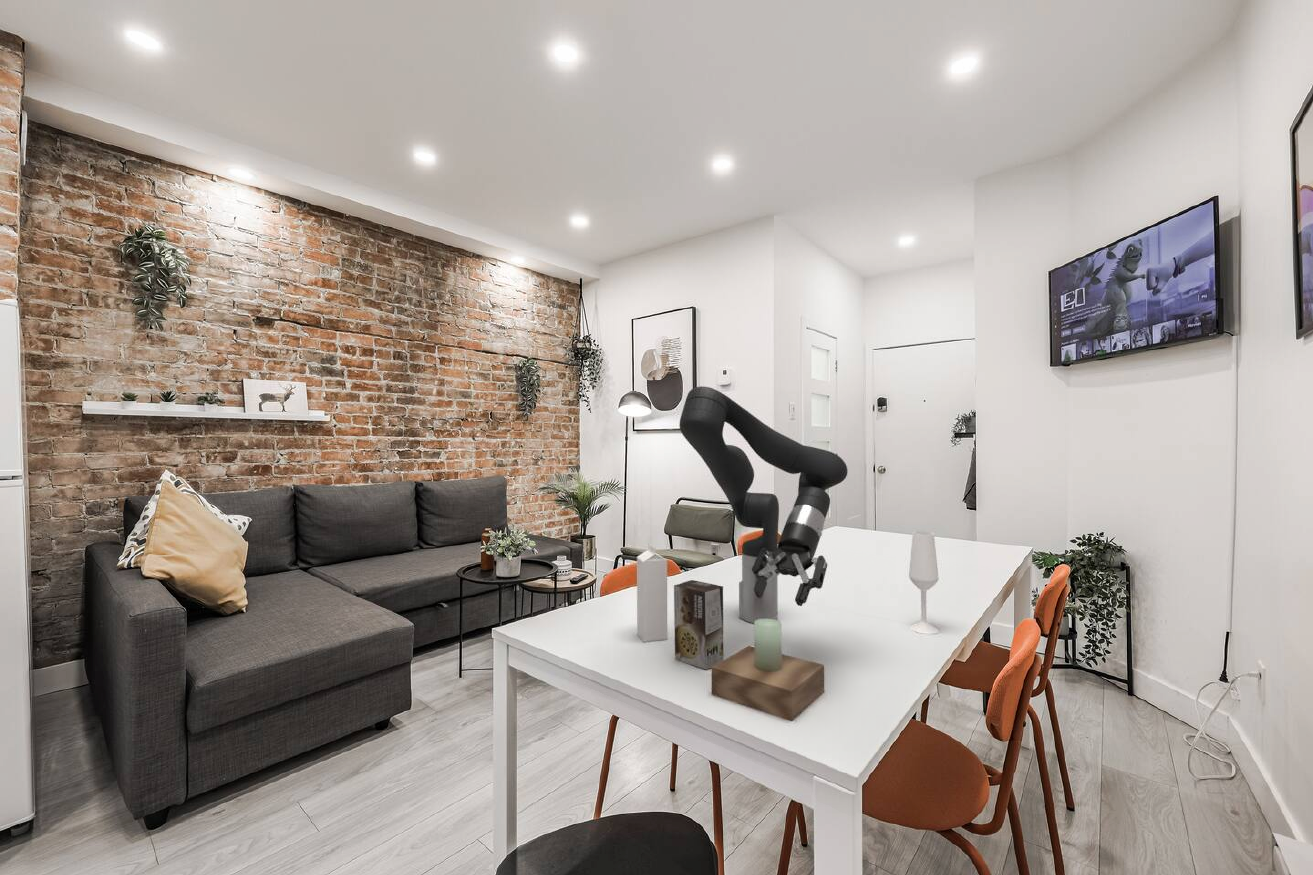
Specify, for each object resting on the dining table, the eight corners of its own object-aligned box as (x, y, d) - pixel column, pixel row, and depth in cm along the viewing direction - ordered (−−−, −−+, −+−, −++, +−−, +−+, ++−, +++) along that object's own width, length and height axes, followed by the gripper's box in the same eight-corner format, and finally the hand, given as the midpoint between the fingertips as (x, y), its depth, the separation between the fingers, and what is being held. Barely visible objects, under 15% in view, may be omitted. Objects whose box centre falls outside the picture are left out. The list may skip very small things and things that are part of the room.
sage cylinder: (749, 666, 104) (749, 623, 104) (762, 658, 108) (762, 616, 108) (774, 673, 101) (773, 629, 101) (786, 664, 105) (786, 622, 105)
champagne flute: (934, 635, 135) (933, 536, 135) (905, 629, 139) (904, 533, 139) (942, 628, 140) (941, 532, 140) (914, 623, 144) (913, 529, 144)
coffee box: (725, 661, 119) (724, 586, 119) (705, 670, 115) (705, 591, 115) (692, 650, 126) (692, 578, 126) (673, 658, 121) (672, 584, 121)
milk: (643, 642, 131) (642, 548, 131) (636, 634, 137) (636, 543, 137) (668, 639, 133) (667, 546, 133) (660, 631, 138) (659, 542, 138)
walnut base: (711, 694, 104) (711, 667, 104) (748, 670, 115) (748, 645, 115) (791, 720, 94) (791, 690, 94) (824, 691, 105) (824, 664, 105)
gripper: (765, 517, 119) (738, 583, 110) (830, 524, 110) (806, 595, 102) (777, 539, 123) (751, 603, 115) (840, 546, 115) (818, 616, 106)
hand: (777, 599), depth 108 cm, fingers open, 8 cm apart
